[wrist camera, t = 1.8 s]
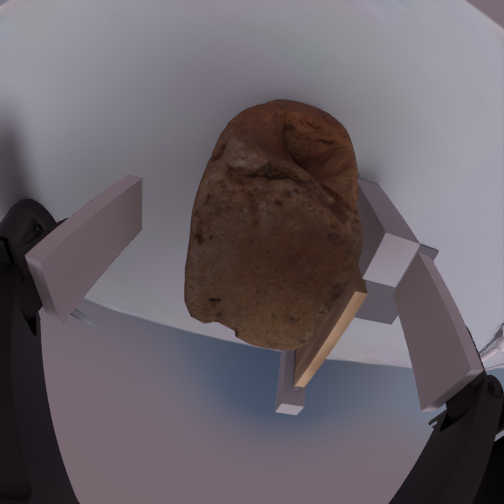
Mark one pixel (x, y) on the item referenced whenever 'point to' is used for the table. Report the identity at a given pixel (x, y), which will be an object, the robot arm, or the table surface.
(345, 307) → the door
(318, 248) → the brown oblong lump
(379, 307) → the mat
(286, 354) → the door frame
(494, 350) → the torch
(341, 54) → the table surface
